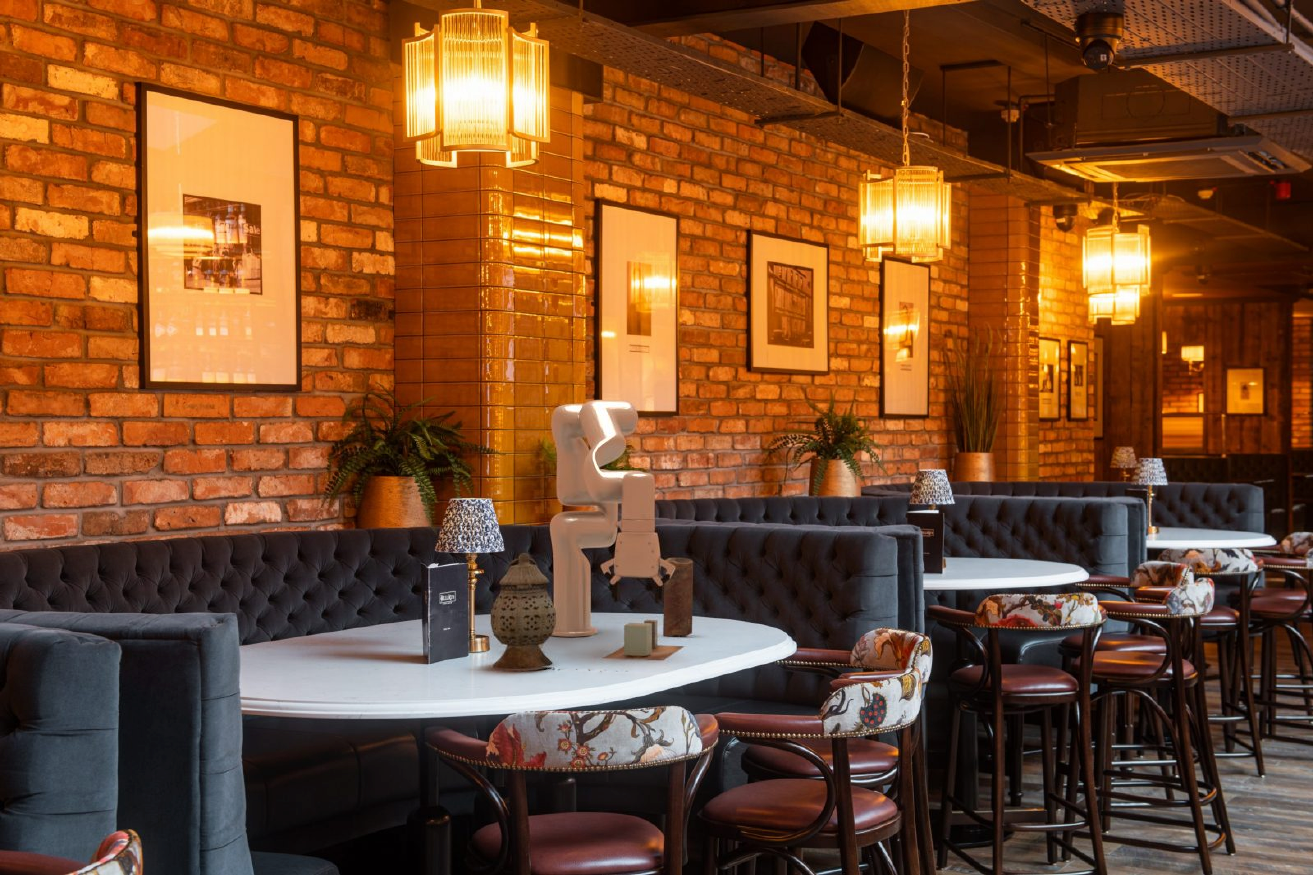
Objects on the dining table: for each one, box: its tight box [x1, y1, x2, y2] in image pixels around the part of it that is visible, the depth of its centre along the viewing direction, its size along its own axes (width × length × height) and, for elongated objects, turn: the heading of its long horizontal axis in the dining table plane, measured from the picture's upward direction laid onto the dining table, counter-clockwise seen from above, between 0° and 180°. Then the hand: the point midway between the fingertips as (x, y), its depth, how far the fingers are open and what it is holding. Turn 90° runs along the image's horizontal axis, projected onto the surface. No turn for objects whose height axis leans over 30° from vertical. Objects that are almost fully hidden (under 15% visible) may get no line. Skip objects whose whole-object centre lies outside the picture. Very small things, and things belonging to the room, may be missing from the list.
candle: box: [662, 557, 694, 638], centre depth 348 cm, size 8×7×20 cm
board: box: [602, 644, 685, 661], centre depth 318 cm, size 14×22×1 cm, turn 166°
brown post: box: [643, 619, 658, 649], centre depth 324 cm, size 3×3×6 cm
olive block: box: [623, 622, 652, 656], centre depth 312 cm, size 5×5×7 cm
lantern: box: [490, 552, 556, 673], centre depth 302 cm, size 14×14×25 cm
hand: (637, 602), depth 313 cm, fingers open, 9 cm apart
